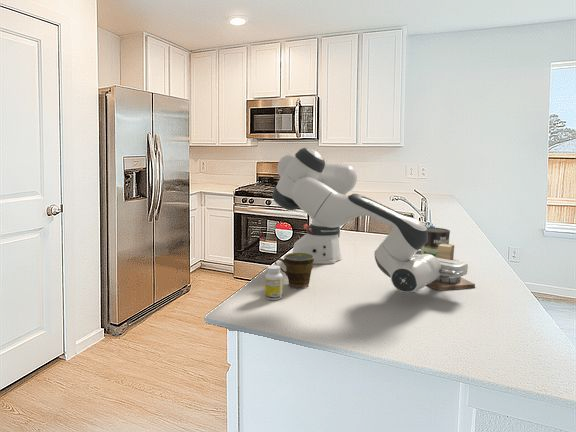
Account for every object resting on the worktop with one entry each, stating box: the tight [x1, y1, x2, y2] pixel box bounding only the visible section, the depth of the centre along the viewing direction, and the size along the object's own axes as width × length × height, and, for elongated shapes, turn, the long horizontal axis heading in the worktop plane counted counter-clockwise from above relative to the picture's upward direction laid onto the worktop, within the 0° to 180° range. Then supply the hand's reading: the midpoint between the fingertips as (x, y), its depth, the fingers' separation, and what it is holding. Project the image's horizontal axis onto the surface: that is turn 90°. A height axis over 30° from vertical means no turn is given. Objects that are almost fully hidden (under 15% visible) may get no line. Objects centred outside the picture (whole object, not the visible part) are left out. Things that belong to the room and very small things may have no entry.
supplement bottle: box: [264, 264, 284, 301], centre depth 135 cm, size 5×5×10 cm
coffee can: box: [420, 227, 451, 258], centre depth 172 cm, size 10×10×14 cm
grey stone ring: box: [433, 276, 462, 284], centre depth 151 cm, size 10×10×2 cm
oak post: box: [437, 243, 455, 277], centre depth 150 cm, size 4×4×12 cm
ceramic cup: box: [274, 252, 314, 289], centre depth 146 cm, size 13×10×10 cm
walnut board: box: [426, 277, 476, 292], centre depth 151 cm, size 14×14×1 cm
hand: (442, 259), depth 147 cm, fingers open, 8 cm apart
